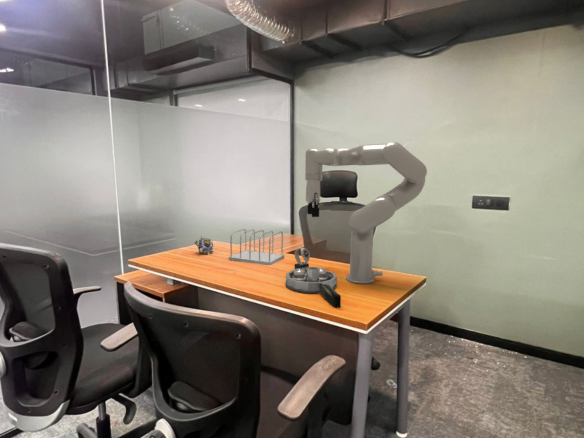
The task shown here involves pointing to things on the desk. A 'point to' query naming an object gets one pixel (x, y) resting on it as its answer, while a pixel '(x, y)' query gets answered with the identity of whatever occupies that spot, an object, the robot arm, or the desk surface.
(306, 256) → the watch
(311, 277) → the grey hollow tube
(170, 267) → the desk surface
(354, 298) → the desk surface
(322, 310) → the desk surface
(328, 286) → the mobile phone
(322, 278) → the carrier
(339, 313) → the desk surface
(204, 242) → the passion flower
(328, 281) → the ring gear
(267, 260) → the file sorter
